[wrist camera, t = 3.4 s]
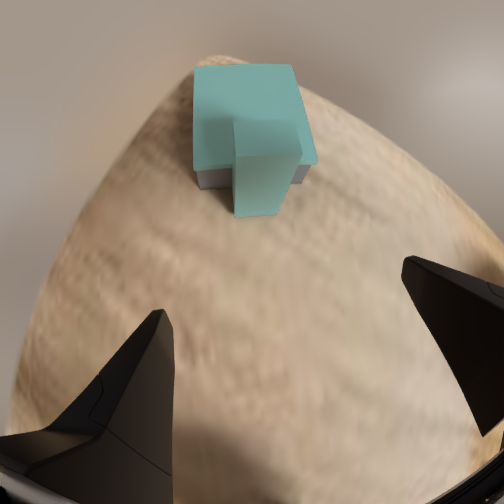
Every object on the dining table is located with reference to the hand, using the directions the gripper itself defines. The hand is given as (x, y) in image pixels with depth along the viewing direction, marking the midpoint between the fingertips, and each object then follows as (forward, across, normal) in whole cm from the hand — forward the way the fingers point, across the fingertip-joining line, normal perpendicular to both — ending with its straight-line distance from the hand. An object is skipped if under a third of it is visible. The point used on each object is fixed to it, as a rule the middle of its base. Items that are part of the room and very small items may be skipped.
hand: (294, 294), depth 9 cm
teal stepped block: (+19, -1, -2) cm, 19 cm away
